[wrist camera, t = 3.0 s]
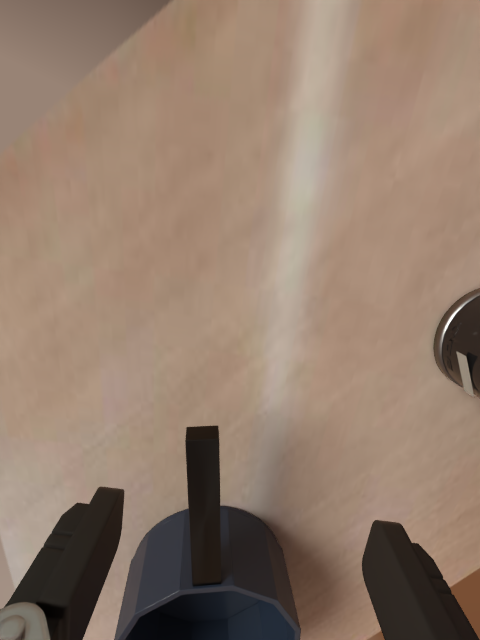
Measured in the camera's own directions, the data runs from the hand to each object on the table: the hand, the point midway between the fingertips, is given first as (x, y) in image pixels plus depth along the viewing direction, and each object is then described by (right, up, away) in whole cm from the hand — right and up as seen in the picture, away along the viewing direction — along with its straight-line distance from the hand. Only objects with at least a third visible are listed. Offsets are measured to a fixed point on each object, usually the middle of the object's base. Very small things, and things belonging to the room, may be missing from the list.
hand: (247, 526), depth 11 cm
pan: (-3, -12, +24) cm, 27 cm away
